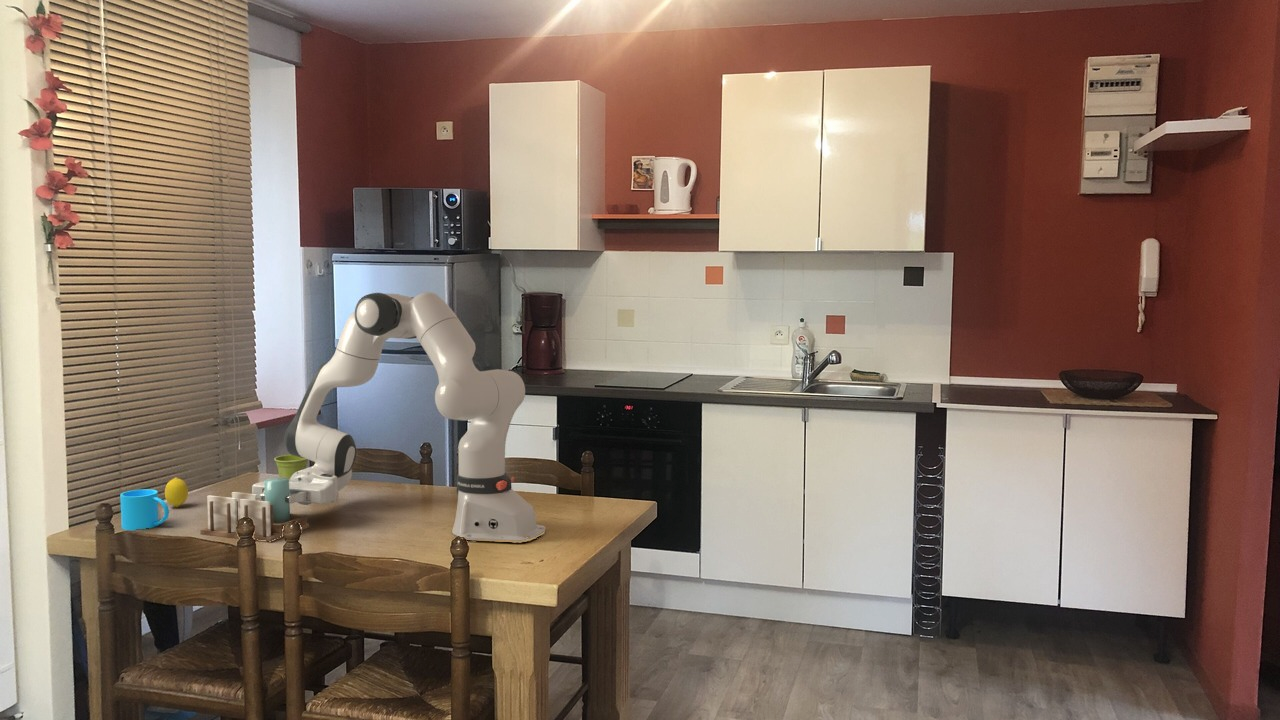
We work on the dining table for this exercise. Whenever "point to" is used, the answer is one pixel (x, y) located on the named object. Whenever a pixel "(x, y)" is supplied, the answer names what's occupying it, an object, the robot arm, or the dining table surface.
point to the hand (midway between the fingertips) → (275, 499)
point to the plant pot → (290, 465)
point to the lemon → (176, 492)
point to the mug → (141, 509)
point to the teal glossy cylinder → (278, 498)
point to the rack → (244, 505)
